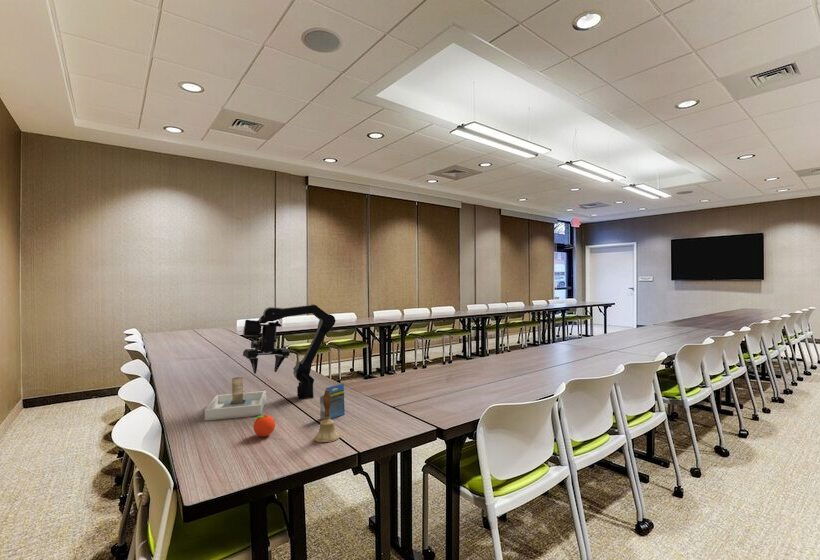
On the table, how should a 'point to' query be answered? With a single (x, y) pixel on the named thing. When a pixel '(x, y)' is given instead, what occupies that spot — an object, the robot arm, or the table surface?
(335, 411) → the label tape cartridge
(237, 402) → the peg
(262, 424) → the clementine
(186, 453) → the table surface
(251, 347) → the robot arm
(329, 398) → the hand bell
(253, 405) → the tray
